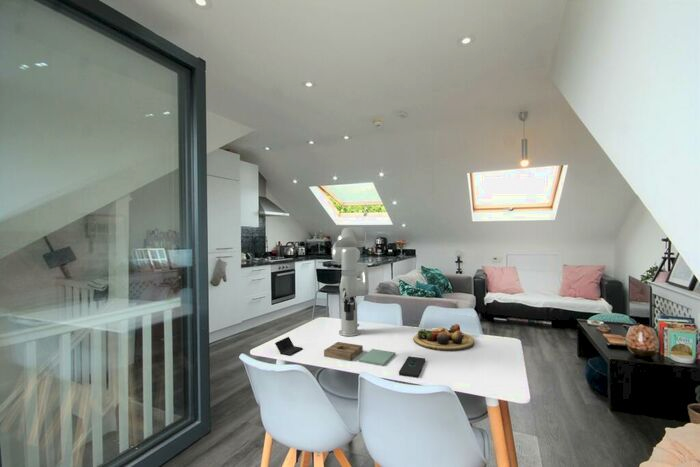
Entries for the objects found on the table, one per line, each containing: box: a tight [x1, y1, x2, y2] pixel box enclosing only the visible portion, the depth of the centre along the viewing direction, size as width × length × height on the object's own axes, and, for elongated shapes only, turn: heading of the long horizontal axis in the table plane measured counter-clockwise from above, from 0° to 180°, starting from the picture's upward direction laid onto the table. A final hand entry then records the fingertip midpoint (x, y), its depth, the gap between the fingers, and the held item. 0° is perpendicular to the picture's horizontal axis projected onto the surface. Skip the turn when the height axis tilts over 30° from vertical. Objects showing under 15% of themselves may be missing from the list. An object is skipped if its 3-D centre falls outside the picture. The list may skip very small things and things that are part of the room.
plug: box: [346, 300, 354, 321], centre depth 160 cm, size 4×4×9 cm
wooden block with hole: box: [323, 341, 364, 362], centre depth 161 cm, size 14×14×3 cm
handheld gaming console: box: [274, 336, 303, 357], centre depth 167 cm, size 12×7×10 cm
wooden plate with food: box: [413, 323, 476, 352], centre depth 179 cm, size 32×32×8 cm
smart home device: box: [398, 355, 426, 379], centre depth 144 cm, size 8×2×20 cm
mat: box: [358, 348, 396, 367], centre depth 156 cm, size 16×12×1 cm
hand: (349, 310), depth 160 cm, fingers closed on plug, 4 cm apart
